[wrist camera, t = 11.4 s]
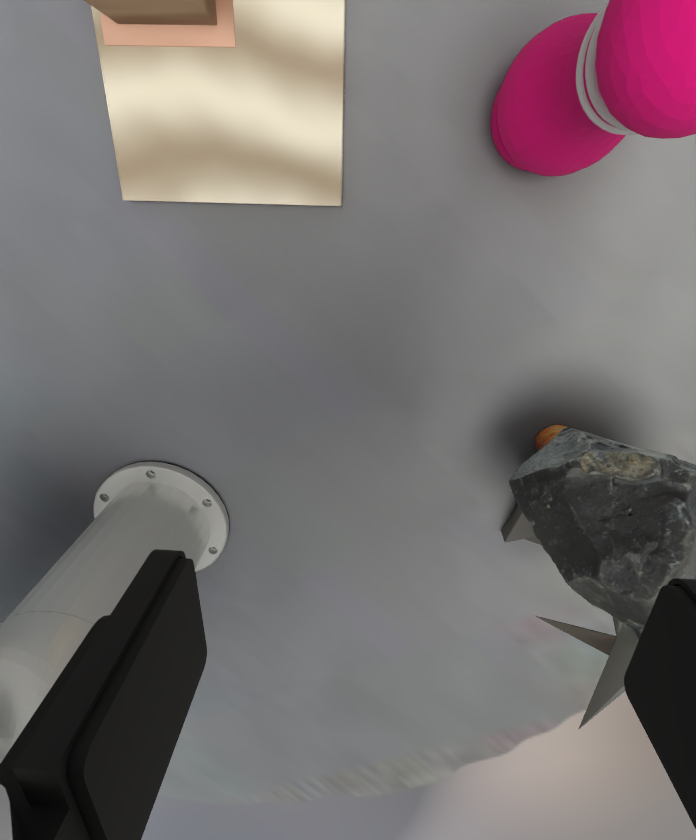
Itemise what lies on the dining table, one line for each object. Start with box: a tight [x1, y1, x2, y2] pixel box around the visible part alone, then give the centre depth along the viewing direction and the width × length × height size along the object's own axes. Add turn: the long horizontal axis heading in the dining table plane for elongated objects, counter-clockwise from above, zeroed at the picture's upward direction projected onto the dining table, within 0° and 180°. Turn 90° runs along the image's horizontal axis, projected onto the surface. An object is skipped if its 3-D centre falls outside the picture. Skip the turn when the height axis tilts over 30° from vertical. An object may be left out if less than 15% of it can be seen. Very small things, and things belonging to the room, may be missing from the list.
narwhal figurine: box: [501, 425, 696, 729], centre depth 32 cm, size 14×15×18 cm
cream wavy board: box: [91, 0, 346, 206], centre depth 28 cm, size 17×15×1 cm
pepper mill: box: [491, 0, 696, 176], centre depth 20 cm, size 7×7×20 cm
